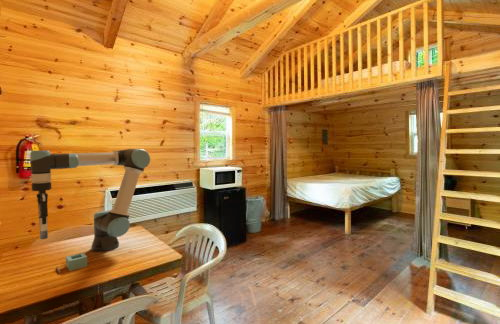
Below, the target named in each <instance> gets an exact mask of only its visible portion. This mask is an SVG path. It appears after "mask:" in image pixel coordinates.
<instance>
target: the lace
mask: <svg viewBox="0 0 500 324" xmlns="http://www.w3.org/2000/svg"><path fill="white" fill-rule="evenodd" d="M55 269H56V271H57V273H58V274H61V272H62V271H61V270H60V267H58V266H56V267H55Z"/></svg>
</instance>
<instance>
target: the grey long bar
mask: <svg viewBox="0 0 500 324" xmlns="http://www.w3.org/2000/svg"><path fill="white" fill-rule="evenodd" d="M38 212H39V213H38V222H39V223H38V224H39V239H40V240H47V239H48V238H49V234H48V233H49V229H48V230H45V231H41V226H40V218H39V217H40V216H41V215H40V205H39V211H38Z"/></svg>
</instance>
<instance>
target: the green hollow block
mask: <svg viewBox="0 0 500 324" xmlns="http://www.w3.org/2000/svg"><path fill="white" fill-rule="evenodd" d="M65 265H66V268H67V270H68V271H69V272H71V271H74V270H79V269H81V268H86V267H88V256H87V255H86V254H85V253H84V252H80V253H76V254H71V255H67V256H65Z"/></svg>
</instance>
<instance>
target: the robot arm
mask: <svg viewBox="0 0 500 324" xmlns="http://www.w3.org/2000/svg"><path fill="white" fill-rule="evenodd" d="M29 157H30V158H29V161H30V176H29V178H30V180H31V190H32V192H38V193H37V194H36V198H37V199H36V201H37V210H38V214H39V205H40V215H41V216H40V217H39V216H38V219H39V218H40V225H39V227H40V226H41V231H45V230H48V231H49V228H48V227H49V225H48V216H49V213H48V210H49V209H48V198H49V194H48V193H47V191H49V190H52V182H51V181H52V170H59V169H60V170H61V169H62V170H65V169H76V168H78V167H85V166H105V165H113V166H121V167H122V166H123V168H124V170H125V171H124V174H123V176H122V178H121V182H120V185H119V189H118V192H117V195H116V198H115V201H114V204H113V207H112V209H110V210H102V211H97V212H95V213H94V214H93V233H94V237H93V241H92V242H91V246H90V247H91V248H90V249H91V251H92V252H94V253H103V252H109V251H112V250H116V249H117V248H119V247H120V246H119V245H120V241H119V240H118V238H120V237H123V236H125V234H127V233H128V232H129V230H130V227H131V223H130V220H129V218H130V213H129V209H130V206H131V203H132V200H133V196H134V193H135V191H136V187H137V184H138V182H139V181H138V180H139V178H140V175H141V174H142V173H144V171H145V168H147V167H148V166H149V165H150V162H151V156H150V154H149V152H148V151H147V150H145V149H141V148H126V149H122V150H121V149H120V150H112V151H111V152H106V151H105V152H73V153H69V152H68V153H67V152H66V153H51V151H50V150H31V152H30V155H29Z"/></svg>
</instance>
